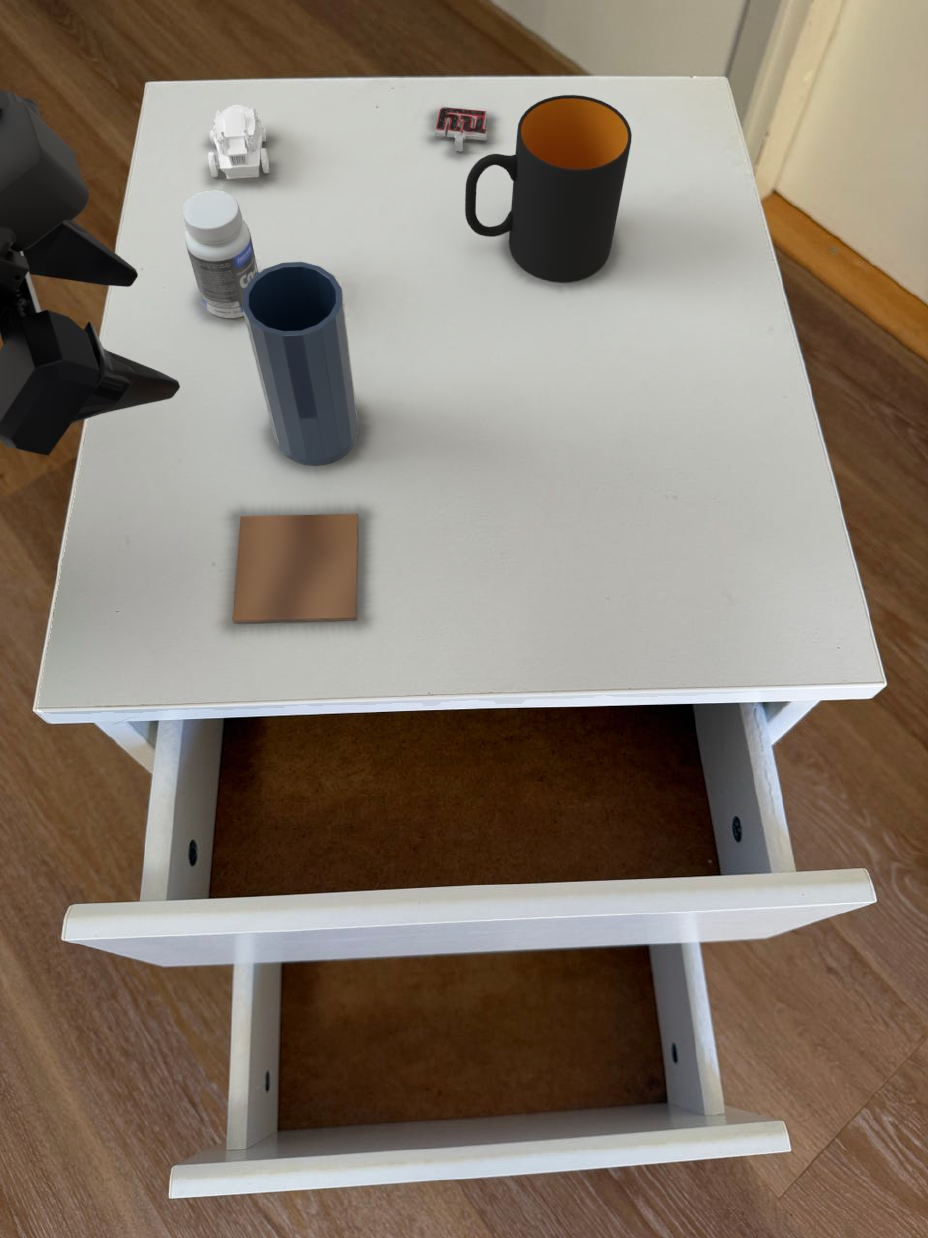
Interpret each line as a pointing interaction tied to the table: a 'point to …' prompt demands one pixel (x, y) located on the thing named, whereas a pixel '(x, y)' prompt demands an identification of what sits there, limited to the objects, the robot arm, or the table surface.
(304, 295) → the cup
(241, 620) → the cork coaster
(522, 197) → the mug
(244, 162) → the toy car
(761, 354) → the table surface
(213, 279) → the pill bottle
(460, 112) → the pendant
